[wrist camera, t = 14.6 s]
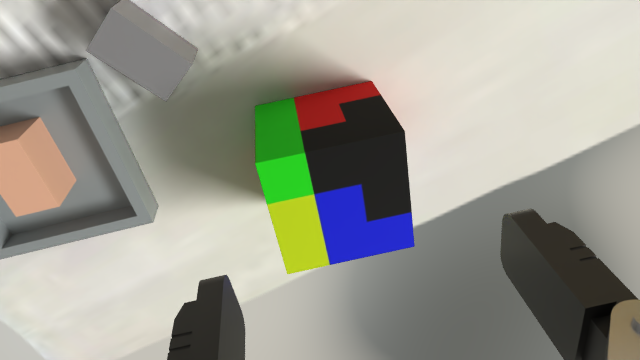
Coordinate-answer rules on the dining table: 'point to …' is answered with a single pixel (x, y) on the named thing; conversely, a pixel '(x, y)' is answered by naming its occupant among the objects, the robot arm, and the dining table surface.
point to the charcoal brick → (142, 49)
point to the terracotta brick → (32, 168)
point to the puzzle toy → (334, 176)
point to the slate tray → (75, 161)
